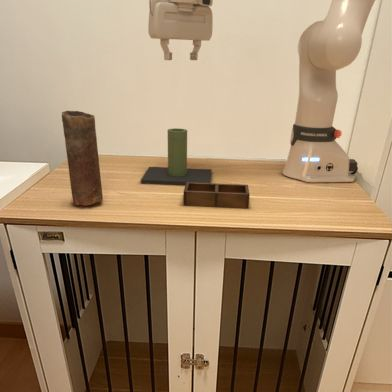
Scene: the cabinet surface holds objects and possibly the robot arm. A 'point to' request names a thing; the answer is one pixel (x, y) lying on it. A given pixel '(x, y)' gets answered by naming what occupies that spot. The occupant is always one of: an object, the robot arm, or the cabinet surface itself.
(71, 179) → the weathered brown tube
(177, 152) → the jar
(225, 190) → the divided wooden tray
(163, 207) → the cabinet surface
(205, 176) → the mat
